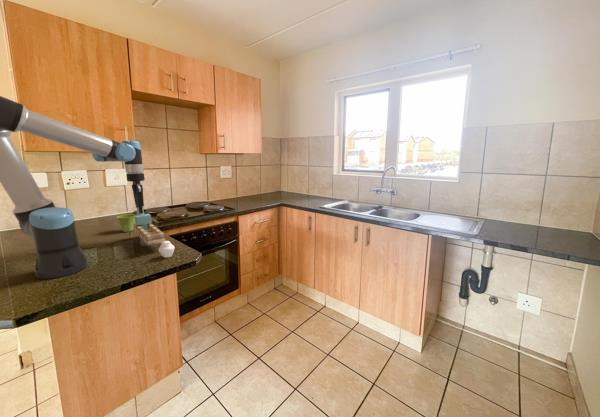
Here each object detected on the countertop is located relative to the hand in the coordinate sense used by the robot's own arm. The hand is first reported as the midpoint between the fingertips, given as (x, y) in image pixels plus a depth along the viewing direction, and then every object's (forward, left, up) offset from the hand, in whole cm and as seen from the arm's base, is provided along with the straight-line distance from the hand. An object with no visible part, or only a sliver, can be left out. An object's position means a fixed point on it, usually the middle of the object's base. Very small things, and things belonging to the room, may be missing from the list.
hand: (141, 219), depth 135 cm
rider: (-3, -2, -4) cm, 5 cm away
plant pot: (+17, +16, -11) cm, 25 cm away
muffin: (-28, -21, -11) cm, 37 cm away
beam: (-9, -6, -10) cm, 15 cm away
